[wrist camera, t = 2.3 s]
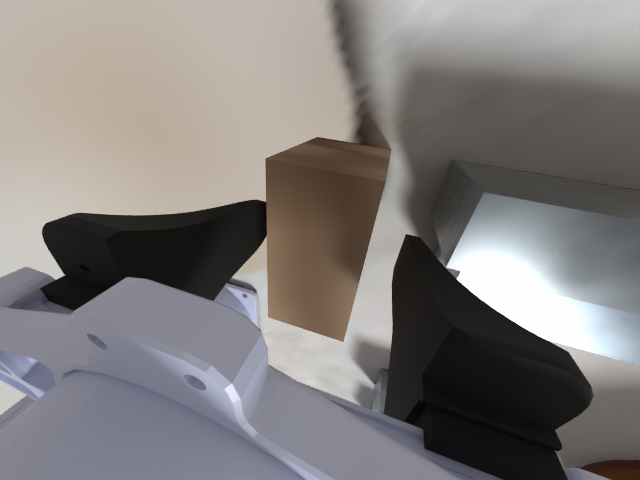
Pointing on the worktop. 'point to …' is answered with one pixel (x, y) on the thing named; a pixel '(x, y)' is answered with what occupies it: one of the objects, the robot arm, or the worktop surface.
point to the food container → (616, 469)
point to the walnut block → (320, 230)
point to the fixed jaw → (546, 253)
